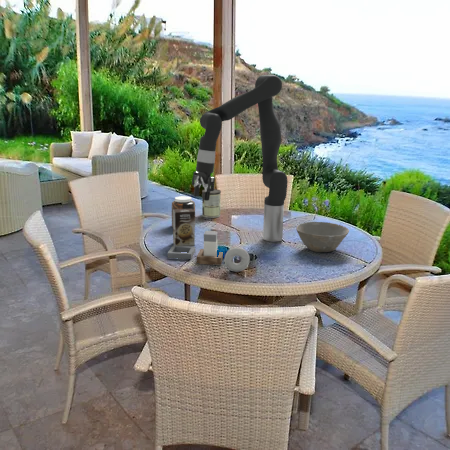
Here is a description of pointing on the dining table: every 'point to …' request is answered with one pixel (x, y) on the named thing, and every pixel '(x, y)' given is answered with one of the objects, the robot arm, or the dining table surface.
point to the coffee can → (211, 204)
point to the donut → (236, 252)
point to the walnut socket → (209, 258)
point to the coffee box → (183, 227)
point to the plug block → (210, 243)
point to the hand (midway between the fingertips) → (201, 198)
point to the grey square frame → (176, 251)
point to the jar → (182, 204)
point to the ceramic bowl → (321, 235)
